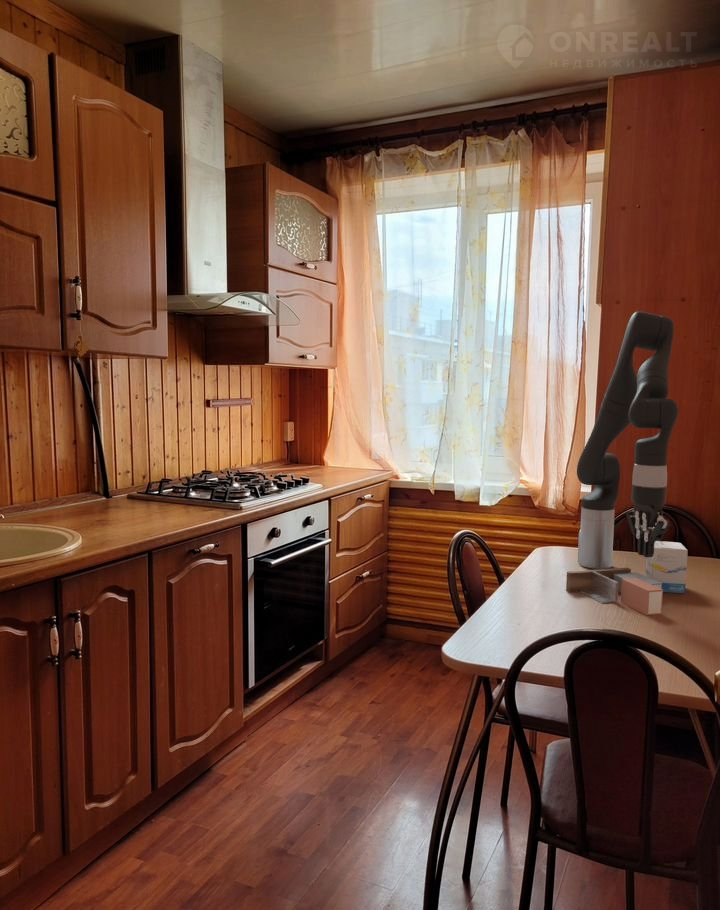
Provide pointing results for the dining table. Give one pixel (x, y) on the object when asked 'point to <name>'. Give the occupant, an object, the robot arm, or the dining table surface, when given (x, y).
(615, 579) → the flat book
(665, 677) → the dining table surface
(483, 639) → the dining table surface
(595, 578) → the bookend
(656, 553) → the ink box
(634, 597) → the boxed book
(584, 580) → the shelf wall
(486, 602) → the dining table surface
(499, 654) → the dining table surface
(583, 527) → the robot arm
